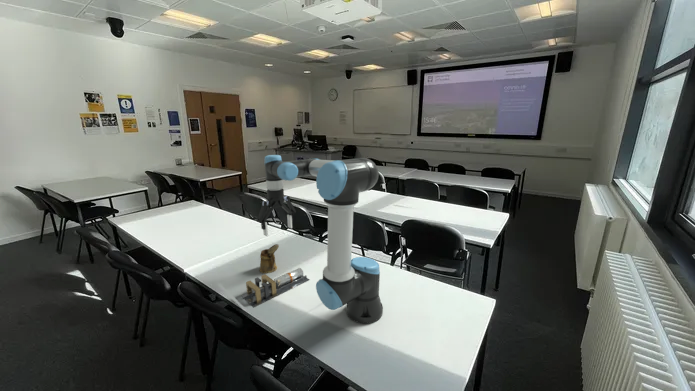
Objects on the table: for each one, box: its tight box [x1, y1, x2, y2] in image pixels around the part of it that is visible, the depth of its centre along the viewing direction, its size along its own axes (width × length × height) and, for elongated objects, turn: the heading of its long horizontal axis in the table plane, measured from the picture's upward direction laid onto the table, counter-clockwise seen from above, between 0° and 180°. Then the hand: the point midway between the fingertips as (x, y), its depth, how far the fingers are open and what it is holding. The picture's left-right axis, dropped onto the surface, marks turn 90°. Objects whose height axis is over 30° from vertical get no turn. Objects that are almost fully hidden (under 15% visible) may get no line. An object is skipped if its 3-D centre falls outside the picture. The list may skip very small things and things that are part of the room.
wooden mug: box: [259, 243, 280, 274], centre depth 146 cm, size 9×14×18 cm, turn 46°
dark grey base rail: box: [240, 275, 311, 308], centre depth 133 cm, size 12×30×2 cm, turn 135°
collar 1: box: [245, 280, 262, 304], centre depth 124 cm, size 9×2×6 cm, turn 45°
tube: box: [273, 267, 304, 288], centre depth 137 cm, size 14×4×4 cm, turn 135°
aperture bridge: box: [254, 277, 269, 299], centre depth 127 cm, size 9×2×6 cm, turn 45°
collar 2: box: [260, 273, 277, 296], centre depth 129 cm, size 9×2×6 cm, turn 45°
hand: (278, 231), depth 136 cm, fingers open, 13 cm apart
